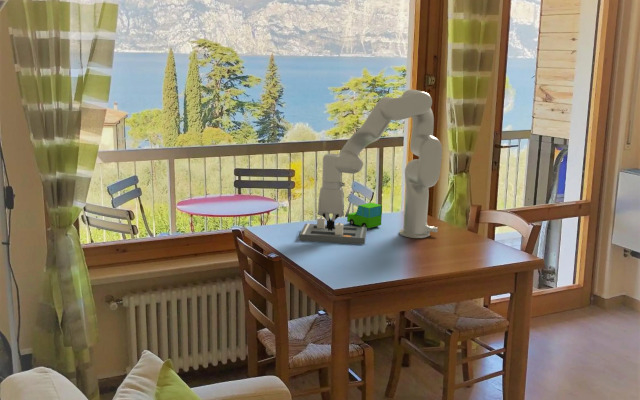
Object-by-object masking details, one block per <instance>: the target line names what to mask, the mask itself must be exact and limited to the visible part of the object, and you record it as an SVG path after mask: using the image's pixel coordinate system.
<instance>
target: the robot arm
mask: <svg viewBox="0 0 640 400" xmlns="http://www.w3.org/2000/svg"><path fill="white" fill-rule="evenodd" d="M432 106H433V98H432V97H431V95H430V94H429V93H428V92H425V91H423V90H422V91H421V90H419V89H418V90H417V89H408V90H405V91H403V93H402V95H401V96H400V97H396V98H395V97H391V96H384V97H381V98H380V99H379V100H378V101H377V102H376V104H375V105H374V107H373V108H372V109H371V112H370V113H369V115H368V116H367V118H366V120H364V122H363V124H362V126H361V127H360V128H359V129H358V130H357V131H356V132H354V134H353V135H351V136H350V137H349V138H348V140H346V143H345V144H344V145H343V147H342V148H341V150H340V152H339V153H326V154H324V155H323V157H322V181H321V185H322V186H321V187H320V189H319V193H318V194H319V195H318V203H317V204H318V207H317V215H318V216H319V217H324V218H325V222H326V225H327V228H328V231H329V230H331V231H332V230H333V228H334V225H335V224H336V220H337V219H338V218H341V217H344V216H345V211H344V210H345V194H344V193H345V192H344V188H343V187H345V186H346V183H345V182H343V181H342V174H343V173H344V174H357V173H359V172H361V170H362V169H363V167H364V163H363V162H364V161H363V160H362V158H361V157H360V156H359V155H360V153H361V152H362V151H363V150H364V149H365V148H366V147H368V146H369V145H370V144H372V143H375V142H376V141H378V140H380V139H381V137H382V136H383V134H384V133H385V131H386V129H387V128H388V126H389V125H390V123H391V122H392V121H401V120H405V119H409V118H411V119H412V125H411V127H412V129H411V135H410V136H411V137H410V145H409V146H410V147H409V148H410V151H411V153H412V154H413V155H415V156H417V157H418V159H417V158H416V159H415V158H414V159H411V160H409V162H408V163H407V164H406V166H405V169H404V180H405V194H404V195H405V196H404V210H403V212H404V213H403V228H400V229H399V235H401V236H402V237H405V238H409V239H411V238H412V239H425V238H428V237H430V235H431V233H432V232H433V233H438V226H437V227H435V226H434V225H433V226H431V225H428V210H429V197H430V196H429V195H430V194H429V192H430V190H429V189H430V188H431V187H434V186H436V184H437V182H438V181H439V180H440V179H439V178H440V175H441V174H440V173H441V170H442V169H441V168H442V160H443V159H442V157H443V147H442V146H443V145H442V142H441V141H440V139H438V138H437V137H435V136H434V125H435V123H434V122H435V117H434V113H433V109H432ZM330 214H331V216H332V217H330Z"/></svg>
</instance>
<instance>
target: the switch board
mask: <svg viewBox="0 0 640 400" xmlns="http://www.w3.org/2000/svg"><path fill="white" fill-rule="evenodd" d="M335 225H336V224H334V228H333V230H332V231H331V230H329V231H328V228H327V224H325V229H321V228H317V223H315V224H314V223H309V222H308V223H305V224H304V226H303V227H302V229H301V231H300V233H299V240H298V241H305V242H306V241H307V242H322V243H338V244H339V243H340V244H356V245H365V244H366V239H367V232H368V229H367V227H363V226H356V225H354V226H351V225H343V235H335Z"/></svg>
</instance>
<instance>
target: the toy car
mask: <svg viewBox="0 0 640 400" xmlns="http://www.w3.org/2000/svg"><path fill="white" fill-rule="evenodd" d="M382 210H383V205H382V204H379V203H375V202H369V203H364V204H363V203H362V204H359V205H358V207H357V209H356V211H355V212H352V213H351V212H350V213H348V214H347V217H346V221H347V222H348V223H349V226H351V225H352V226H358V227H362V226H363V227H367V230H368V229H370V228H378V227H379V226H382V215H383V211H382Z"/></svg>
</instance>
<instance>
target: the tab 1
mask: <svg viewBox="0 0 640 400" xmlns="http://www.w3.org/2000/svg"><path fill="white" fill-rule="evenodd" d="M316 224H317V228H321V229H325V225H326V219H325V218H324V217H323V216H317V218H316Z"/></svg>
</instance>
